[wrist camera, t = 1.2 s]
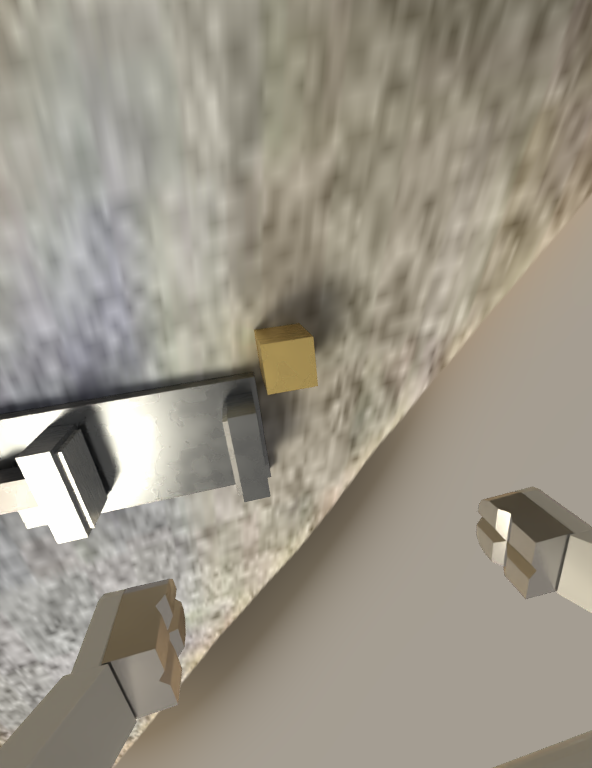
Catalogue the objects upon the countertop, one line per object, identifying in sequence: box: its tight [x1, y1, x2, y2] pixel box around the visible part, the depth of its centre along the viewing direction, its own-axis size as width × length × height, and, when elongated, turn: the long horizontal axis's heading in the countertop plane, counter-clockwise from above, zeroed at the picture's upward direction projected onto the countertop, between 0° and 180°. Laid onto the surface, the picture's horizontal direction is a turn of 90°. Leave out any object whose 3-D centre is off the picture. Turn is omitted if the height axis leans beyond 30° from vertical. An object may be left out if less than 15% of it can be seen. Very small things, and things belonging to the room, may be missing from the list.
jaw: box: [0, 423, 108, 544], centre depth 30 cm, size 9×10×5 cm
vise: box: [0, 372, 271, 529], centre depth 32 cm, size 12×25×6 cm, turn 96°
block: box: [254, 323, 318, 395], centre depth 32 cm, size 4×4×6 cm
